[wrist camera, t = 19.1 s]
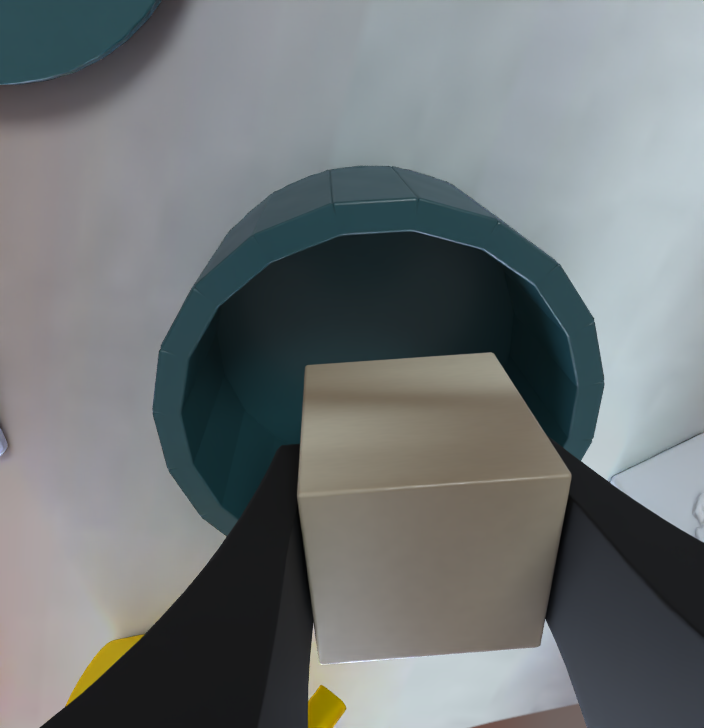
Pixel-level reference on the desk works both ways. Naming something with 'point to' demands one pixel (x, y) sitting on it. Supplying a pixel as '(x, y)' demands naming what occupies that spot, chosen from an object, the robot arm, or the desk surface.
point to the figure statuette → (320, 706)
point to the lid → (63, 35)
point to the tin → (359, 320)
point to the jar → (671, 485)
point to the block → (426, 508)
